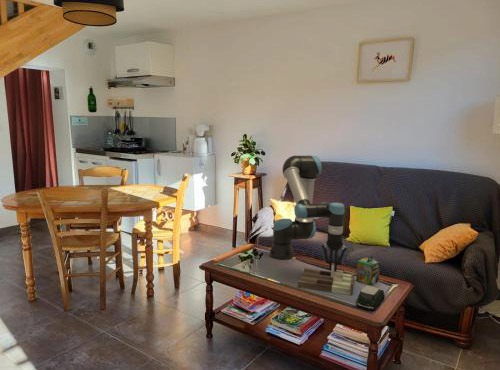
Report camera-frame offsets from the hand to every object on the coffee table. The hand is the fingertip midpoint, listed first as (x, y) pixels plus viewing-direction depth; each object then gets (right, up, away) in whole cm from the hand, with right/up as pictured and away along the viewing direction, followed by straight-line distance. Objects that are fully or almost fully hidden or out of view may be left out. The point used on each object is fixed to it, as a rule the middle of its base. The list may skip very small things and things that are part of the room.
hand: (332, 276), depth 201 cm
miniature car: (+14, -8, -19) cm, 25 cm away
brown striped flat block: (-3, -4, +2) cm, 5 cm away
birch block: (+3, -2, -1) cm, 3 cm away
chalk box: (+20, -4, +6) cm, 22 cm away
